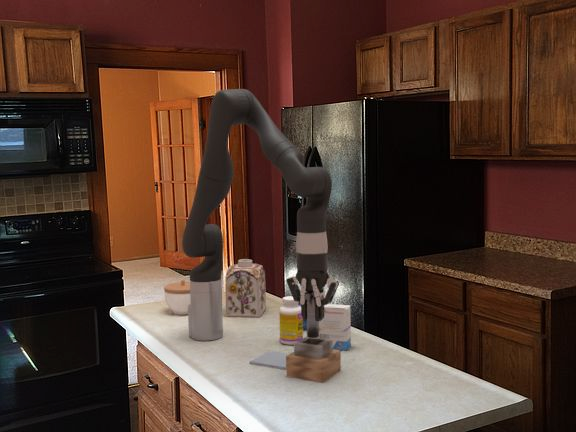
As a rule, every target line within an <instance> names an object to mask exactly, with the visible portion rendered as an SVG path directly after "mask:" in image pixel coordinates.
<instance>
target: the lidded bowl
mask: <svg viewBox="0 0 576 432" xmlns="http://www.w3.org/2000/svg"><path fill="white" fill-rule="evenodd" d="M163 291H164V299H165V303H166V306H167V307H168V309H169V310H170V311H171V312H173V314H174V315H179V316H182V315H183V316H185V315H187V316H188V305H190V304H191V299H190V281H185V279H181V280H180V282H179V281H178V282H172V283H168V284H166V285H164V287H163Z"/></svg>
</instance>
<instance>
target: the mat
mask: <svg viewBox="0 0 576 432" xmlns="http://www.w3.org/2000/svg"><path fill="white" fill-rule="evenodd" d="M289 354H290V353H288V352H281V351H274V350H267V351H266V352H264V353H261V354H260V355H259V356H256V357H255V358H254V359H251V360H250V361H249V364H250V365H254V366H260V367H267V368H272V369H273V368H274V369H279V370H285V371H286V356H288V355H289Z"/></svg>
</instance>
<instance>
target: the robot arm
mask: <svg viewBox="0 0 576 432" xmlns="http://www.w3.org/2000/svg"><path fill="white" fill-rule="evenodd" d="M209 109H210V110H209V118H208V127H207V134H206V135H207V136H206V141H205V147H204V152H203V156H202V162H201V165H200V169H199V173H198V177H197V184H196V189H195V194H194V198H193V201H192V205H191V208H190V212H189V214H188V218H187V220H186V223H185V227H184V229H183V235H182V241H181V244H182V250H183V253H184V255H186V257H188V258H192V259H193V258H194V259H195V258H196V259H197V258H204V259H203V260H201V262H200V263H199V264H197V265H196V266H195V267H193V268H191V269H190V271H189V282H190V299H191V304H190V305H188V314H187V319H188V320H187V322H188V337H189V338H192V339H193V340H195V341H202V342H203V341H204V342H205V341H214V340H218V339H221V338H223V336H224V324H223V323H224V320H223V319H224V318H223V315H224V314H223V291H222V290H223V289H222V288H223V287H222V286H223V285H222V284H223V283H222V272H223V269H224V237H223V233H222V230H221V228H220V226H218V225H217V224H215V223H209V224H207V222H208V220H209V218H210V217H211V216H212V214H213V213H214V212H215V211H216V210H217V208H218V207H219V206H220V205H221V204H222V203H223V202H224V200H225V199H227V196H228V194H229V193H230V190H231V188H232V184H233V179H234V174H235V166H234V161H233V158H232V156H231V153H230V151H229V147H228V144H229V143H228V142H229V136H230V131H231V128H232V126H239V125H247V126H248V127H250V128H251V130H253V131H254V132H255V133H256V134H257V136H258V138H259V144H260V147H261V150H262V153H263V154H264V156H265V158H267V160H268V161H269V162H270V163H271V164H272V165H273V166H274V167H275V168H276V169H277V170H278V171H279V172H280V174H281V175H282V178H283V180H284V181H285V183H286V185H287V187H288V188H289V191H291V193H293V195H295V196H298V197H300V198H307V199H306V203H305V205H303V206H302V207H300V208H298V210H297V212H296V231H297V232H296V240H295V241H296V242H295V243H296V244H295V245H296V246H295V247H296V269H297V272H296V273H295V276H290V277H289V278H287V279H286V283H287V287H288V289H289V291H290V293H291V296H292V297H293V299H294V301H297V302H299V303H300V304H301V315H302V317H303V319H304V320H307V309H306V299H304V293H306V292H309V291H312V292H314V297H315V298H316V303H317V306H316V321H321V320H322V319H323V318H324V316H325V315H324V306H325V305H327V304H331V303H332V302H333V299H334V298H335V295H336V292H337V291H338V288H339V286H340V282H339V280H333V279H331V278H330V275H329V273H328V266H329V263H328V261H329V260H328V258H329V257H328V250H329V245H328V237H327V236H328V235H327V211H328V207H329V203H330V199H331V195H332V190H333V185H332V184H333V181H332V177H331V175H330V172H329V171H328V170H327V169H326V168H324V167H323V166H322V167H321V166H311V167H306V166H304V163H305V156H304V154H303V153H302V152H301V151H300V149H299V148H297V146H295V145H294V144H293V142H292V141H291V140H289V139H288V138H287V136H285V134H283V132H282V131H281V130H280V129H279V128H278V126H277V125H276V124H275V123H274V121H273V120H272V118H271V116H270V115H269V114H268V112H267V111H266V109H264V107H263V105H262V104H261V102H260V101H259V99H258V98H257V97H256V96H255V95H254V94H253V93H252V92H251V91H250V90H249V89H245V88H235V89H232V88H230V89H229V88H228V89H220V90H218V91H217V92H216V93H215V94H214V96H213V97H212V100H211V105H210V108H209ZM299 285H300V287H301V288H300V287H299ZM326 285H327V291H325V286H326ZM300 291H301V292H300ZM325 292H326V293H325Z"/></svg>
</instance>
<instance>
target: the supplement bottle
mask: <svg viewBox="0 0 576 432" xmlns="http://www.w3.org/2000/svg"><path fill="white" fill-rule="evenodd" d="M282 303H283V304H282V305H281V306H280V308H279V310H278V311H279V342H280V343H281V344H283V345H288V346H294V343H296V342H298V341H299V340H301V339H303V338H304V329H303V317H302V315H301V307H300V306H299V305H298V303H299V302H297V301H294V299H293V297H292V295H287V296H284V297H282Z"/></svg>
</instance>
